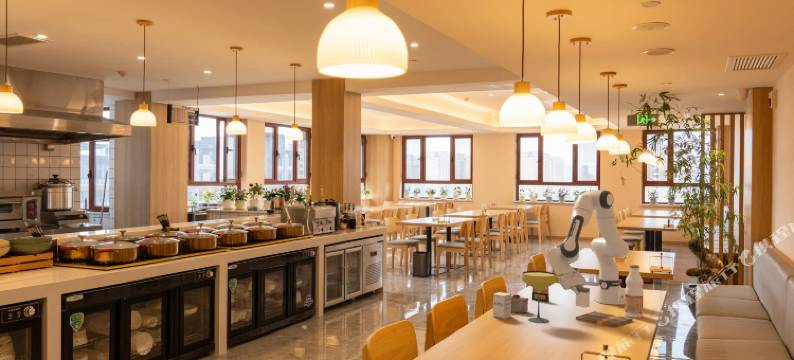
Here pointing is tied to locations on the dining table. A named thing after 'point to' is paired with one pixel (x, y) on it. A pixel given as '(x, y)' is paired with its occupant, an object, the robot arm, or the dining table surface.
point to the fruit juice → (634, 293)
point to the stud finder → (583, 297)
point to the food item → (519, 304)
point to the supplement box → (501, 305)
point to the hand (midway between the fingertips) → (581, 293)
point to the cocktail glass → (539, 286)
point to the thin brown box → (541, 295)
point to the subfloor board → (604, 319)
